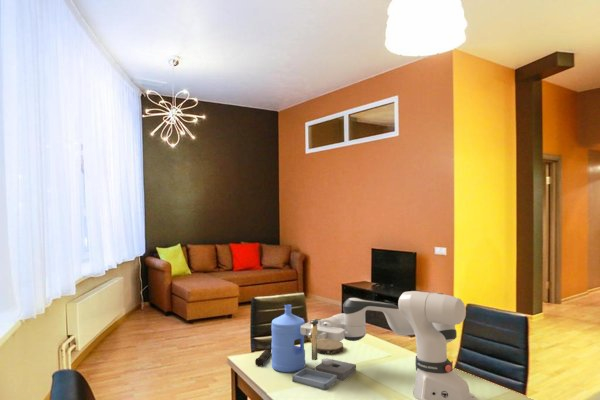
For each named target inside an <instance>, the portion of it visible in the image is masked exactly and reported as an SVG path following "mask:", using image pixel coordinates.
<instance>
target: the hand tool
mask: <svg viewBox="0 0 600 400" xmlns="http://www.w3.org/2000/svg"><path fill="white" fill-rule="evenodd" d="M270 355H271V356H272V347H271V344H268V345H266V346H265V348H264V351H263V352H262V353H261V354H260V355H259V356H258V357H257V358H256V359H254V360H255V361H254V363H255V365H258V366H257V367H263V366H264V365H265V362H266V361H267V359H268V358H269V356H270ZM271 356H270V357H271Z"/></svg>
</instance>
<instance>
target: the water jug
mask: <svg viewBox="0 0 600 400" xmlns="http://www.w3.org/2000/svg"><path fill="white" fill-rule="evenodd" d="M305 323H306V322H305V319H303V318H302V317H300V316H298V315H295V314H293V313H292V304H284V313H283V314H281V315H280V316H278V317H275V318H274V319H272V321H271V327H270V329H271V344H270V345H271V368H273V369H274V370H275V371H277V372H282V373H296V372H299V371H300V370H302V369H304V368H306V350H305V336H306V335H301V333H300V327H301V326H302V325H303V324H305ZM297 340H299V346H298V345H295V341H297Z"/></svg>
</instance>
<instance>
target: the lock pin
mask: <svg viewBox="0 0 600 400" xmlns="http://www.w3.org/2000/svg"><path fill="white" fill-rule="evenodd" d="M309 322H310V324H311V333H312V338H311V360H312V361H317V360H318V359H319V358H318V353H317V341H318V339H316V335H317V324H318V321H317V320H313V319H312V320H310V321H309Z"/></svg>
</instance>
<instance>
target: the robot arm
mask: <svg viewBox="0 0 600 400" xmlns="http://www.w3.org/2000/svg"><path fill="white" fill-rule="evenodd" d="M397 302H398V303H397V305H396V304H394V303H390V302H384V301H383V302H382V301H377V300H367V299H361V298H358V297H349V298H347V299H346V300H345V301H344V303H343V304H342V309H343V313H336V314H334V315H332V316H330V317H327V318H316V319H315V318H313V319H312V320H317V321H318V324H317V335H316V339H317V341H318V340H325V339H327V340H334V341H340V342H342V341H343V340H346V341H349V342H357V341H361V340H362V339H363V338H364V337H366V335H367V333H366V332H367V331H366V330H367V325H366V311H375V312H382V313H383V314H384V315H383V316H385V319H386V322H387V324H388V326H389V328H390V329H391V331H392V332H393V333H395V334H396V335H398V336H413V335H414V336H415V337H414V338H415V344H416V356H415V371H416V373H415V374H416V376H415V383H414V387H413V391H412V392H413V396H415V398H417V399H418V400H477V398H476V396H475V395H474V394H473V393H471V391H470V388H469V384H468V382H467V380H465V379H464V378H463V377H462V376H460V375H459V374H458V373H457V372H456V371H455V370H454V369H453V367H454V366H453V363H454V360H451V361H450V359H448V354H447V353H448V351H447V347H448V345H447V343H451V342H452V341H454V340H456V338H457V329H456V325H460V324H461V323H462V322H464V320H465V319H466V316H467V315H466V314H467V310H466V305H465V303H464V301H463V300H462V299H461V298H460V297H456V296H453V295H449V294H444V293H442V292H427V291H418V290H411V291H404V292H402V294H400V296H399V298H398V301H397ZM300 333H301V335H305V336H307V337H308V338H309V339H312V333H311V324H310V321H309V322H305V324H303V325H302V326H301V327H300Z"/></svg>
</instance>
